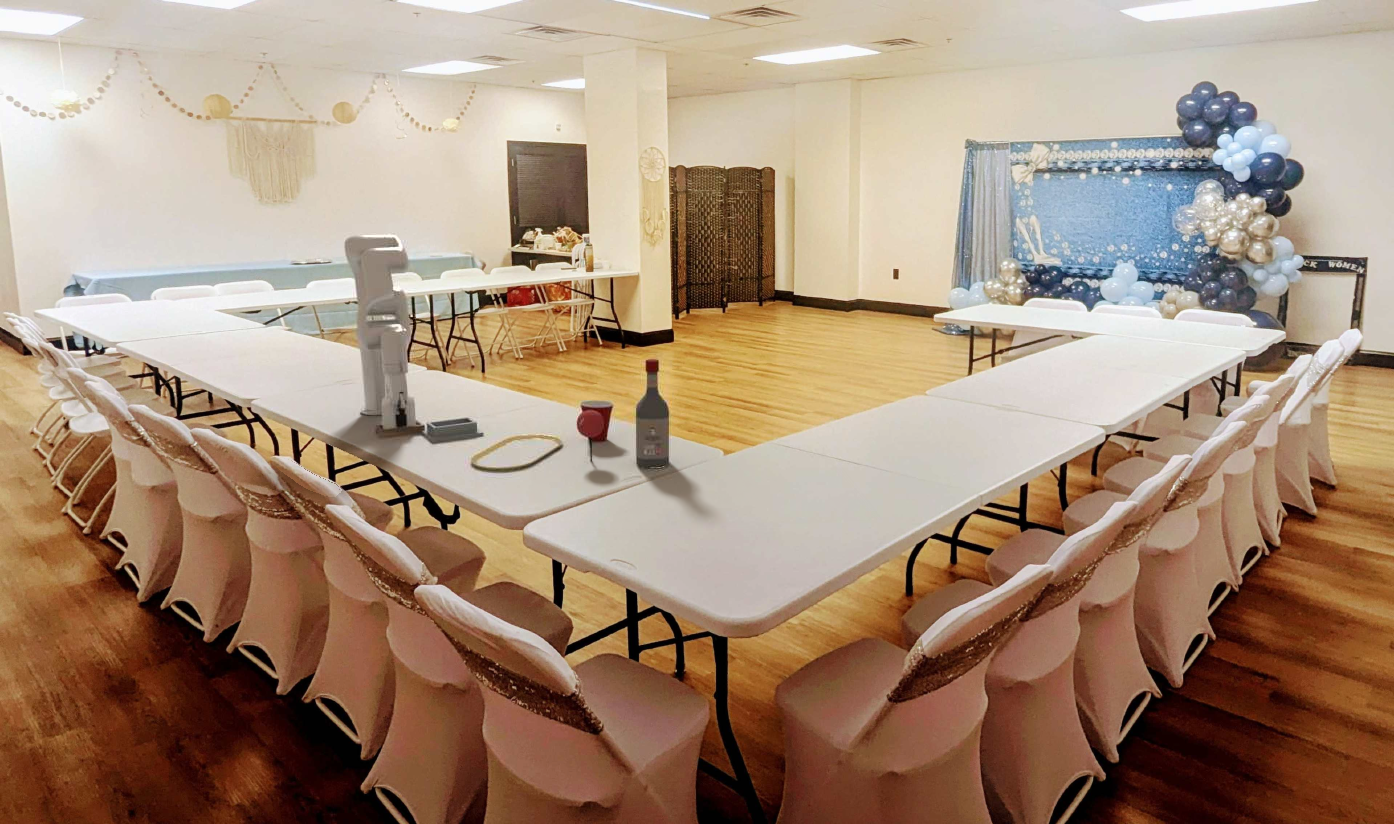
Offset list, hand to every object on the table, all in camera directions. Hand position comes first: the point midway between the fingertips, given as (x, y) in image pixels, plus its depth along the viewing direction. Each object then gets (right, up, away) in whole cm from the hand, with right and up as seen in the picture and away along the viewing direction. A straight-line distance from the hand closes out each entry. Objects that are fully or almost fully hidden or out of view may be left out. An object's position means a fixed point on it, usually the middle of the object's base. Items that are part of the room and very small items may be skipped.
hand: (399, 424), depth 287 cm
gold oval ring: (+42, -9, -20) cm, 47 cm away
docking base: (+17, -3, -1) cm, 17 cm away
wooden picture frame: (0, -3, +1) cm, 3 cm away
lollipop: (+64, -11, -27) cm, 70 cm away
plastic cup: (+63, -5, -4) cm, 64 cm away
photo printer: (0, -3, +1) cm, 3 cm away
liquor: (+82, -11, -29) cm, 87 cm away
